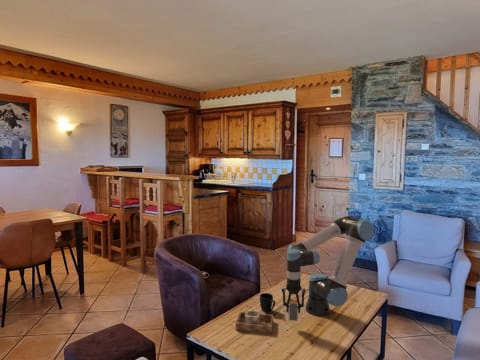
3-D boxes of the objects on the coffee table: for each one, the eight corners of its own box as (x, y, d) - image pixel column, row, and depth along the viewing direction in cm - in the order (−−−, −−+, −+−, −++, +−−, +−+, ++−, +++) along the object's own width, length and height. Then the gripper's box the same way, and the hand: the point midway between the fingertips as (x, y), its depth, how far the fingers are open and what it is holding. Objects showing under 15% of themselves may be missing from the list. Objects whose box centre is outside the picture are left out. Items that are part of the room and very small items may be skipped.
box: (273, 321, 192) (273, 309, 191) (271, 334, 178) (271, 321, 177) (239, 318, 195) (239, 306, 194) (235, 330, 181) (235, 317, 181)
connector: (296, 317, 186) (297, 298, 185) (296, 320, 182) (297, 301, 181) (289, 316, 186) (289, 298, 185) (289, 320, 182) (289, 301, 181)
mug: (268, 317, 197) (269, 301, 196) (256, 309, 207) (257, 294, 206) (279, 313, 201) (279, 298, 201) (266, 306, 211) (267, 291, 211)
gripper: (308, 276, 184) (308, 315, 186) (278, 274, 187) (278, 313, 189) (309, 281, 177) (309, 322, 179) (278, 279, 180) (277, 320, 182)
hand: (293, 317), depth 184 cm, fingers closed on connector, 4 cm apart
